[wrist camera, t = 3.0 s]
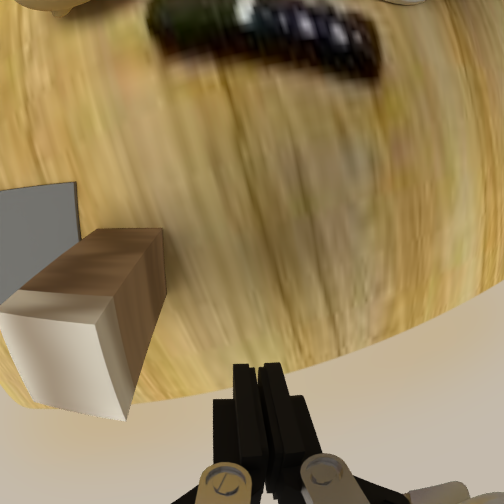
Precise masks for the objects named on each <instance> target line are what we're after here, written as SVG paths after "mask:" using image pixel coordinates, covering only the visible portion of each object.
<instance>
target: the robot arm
mask: <svg viewBox="0 0 504 504" xmlns="http://www.w3.org/2000/svg"><path fill="white" fill-rule="evenodd" d="M384 1H388V2H391V3H395V4H403V5H415V4H419V3H422V2H424V1H426V0H384ZM213 462H214V464H213V465H211V466H209V467H208V468H206V469H205V470H204V471H203V473H202V475H201V477H200V481H199V485H197V486H196V487H194V488H193V489H192V490H190V491H189V492H187V493H186V494H185V495H183V496H182V497H180V498H179V499H177V500H176V501H175V502H173V503H171V504H260V500H261V495H262V493H263V489H264V483H265V485H266V491H267V493H273V498H274V500H275V499H278V504H504V492H492V493H486V494H483V495H479V496H476V497H473V498H470V495H469V492H468V489H467V487H466V486H465V485H464V484H463V483H461V482H458V481H453V482H448V483H444V484H441V485H436V486H432V487H427V488H422V489H418V490H412V491H409V492H408V493H405V494H400V493H398V492H396V491H393V490H390V489H387V488H384V487H381V486H379V485H376V484H373V483H370V482H368V481H366V480H363V479H361V478H358V477H356V476H354V475H352V473H351V472H350V470H349V468H348V467H347V465H346V464H345V462H344V461H343V460H342V459H340V458H339V457H337V456H335V455H332V454H325V453H322V450H321V447H320V444H319V441H318V438H317V435H316V432H315V429H314V426H313V423H312V420H311V417H310V414H309V411H308V408H307V405H306V402H305V399H304V397H303V396H302V395H296V396H290V395H289V392H288V389H287V385H286V381H285V378H284V374H283V371H282V367H281V364H280V362H278V363H264V367H259V369H258V384H257V379H256V373H255V368H254V367H253V368H249V364H233V399H213Z"/></svg>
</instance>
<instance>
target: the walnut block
mask: <svg viewBox="0 0 504 504" xmlns="http://www.w3.org/2000/svg"><path fill="white" fill-rule="evenodd" d="M166 295H167V290H166V279H165V266H164V250H163V232H162V228H116V229H96V230H95V231H93V232H92V233H91V234H89V235H88V236H86V237H85V238H83V239H82V240H81V241H79V242H78V243H77V244H75V245H74V246H73V247H71V248H70V249H68V250H67V251H66V252H64V253H63V254H62V255H61V256H59V257H58V258H57V259H55V260H54V261H53V262H51V263H50V264H49V265H48V266H46V267H45V268H44V269H43V270H41V271H40V272H39V273H38V274H36V275H35V276H34V277H33V278H31V279H30V280H29V281H28V282H27V283H25V284H24V285H23V286H22V287H21V288H20V289H18V290H17V291H16V292H15V293H14V294H13V295H11V296H10V297H9V298H8V299H7V300H6V301H5V302H4V303H2V304H1V305H0V330H1V332H2V335H3V338H4V340H5V343H6V345H7V347H8V350H9V352H10V354H11V357H12V359H13V361H14V363H15V365H16V368H17V370H18V372H19V374H20V376H21V378H22V380H23V382H24V384H25V386H26V388H27V390H28V392H29V393H30V395H31V397H32V399H33V401H34V402H37V403H40V404H44V405H47V406H51V407H55V408H59V409H63V410H67V411H72V412H77V413H81V414H86V415H91V416H96V417H102V418H108V419H114V420H120V421H126V420H127V416H128V413H129V409H130V406H131V402H132V399H133V395H134V392H135V388H136V385H137V382H138V378H139V375H140V372H141V369H142V366H143V362H144V359H145V356H146V353H147V350H148V347H149V344H150V341H151V338H152V335H153V332H154V329H155V326H156V323H157V320H158V317H159V314H160V311H161V309H162V306H163V303H164V300H165V297H166Z"/></svg>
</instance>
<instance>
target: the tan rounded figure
mask: <svg viewBox="0 0 504 504" xmlns="http://www.w3.org/2000/svg"><path fill="white" fill-rule="evenodd" d="M15 1H16V2H17V3H19V4H20V5H22V6H25V7H27V8H30V9H34V10H40V11H52V13H53V15H54V16H55V17H63V16H65V15H67V14H68V13H69V12H70V11H71V9H72V8H73V7H75V6H78V5H81V4H83V3H86V2H88V1H91V0H15Z"/></svg>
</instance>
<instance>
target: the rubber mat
mask: <svg viewBox="0 0 504 504" xmlns="http://www.w3.org/2000/svg"><path fill="white" fill-rule="evenodd" d="M79 241H81V235H80V226H79V216H78V205H77V190H76V182H69V183H59V184H49V185H40V186H32V187H24V188H17V189H10V190H3V191H0V305H1V304H2V303H4V302H5V301H6V300H7V299H8V298H9V297H10V296H11V295H13V294H14V293H15V292H16V291H17V290H18V289H20V288H21V287H22V286H23V285H24V284H25V283H27V282H28V281H29V280H30V279H31V278H33V277H34V276H35V275H36V274H38V273H39V272H40V271H41V270H43V269H44V268H45V267H46V266H48V265H49V264H50V263H51V262H53V261H54V260H55V259H57V258H58V257H59V256H61V255H62V254H63V253H64V252H66V251H67V250H68V249H70V248H71V247H73V246H74V245H75V244H77V243H78V242H79Z"/></svg>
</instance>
